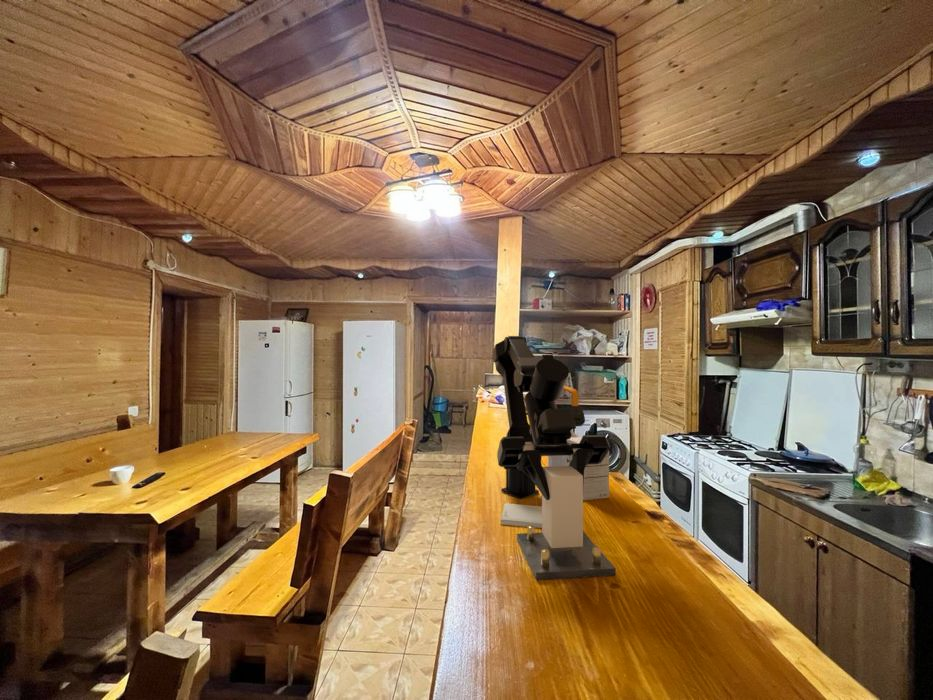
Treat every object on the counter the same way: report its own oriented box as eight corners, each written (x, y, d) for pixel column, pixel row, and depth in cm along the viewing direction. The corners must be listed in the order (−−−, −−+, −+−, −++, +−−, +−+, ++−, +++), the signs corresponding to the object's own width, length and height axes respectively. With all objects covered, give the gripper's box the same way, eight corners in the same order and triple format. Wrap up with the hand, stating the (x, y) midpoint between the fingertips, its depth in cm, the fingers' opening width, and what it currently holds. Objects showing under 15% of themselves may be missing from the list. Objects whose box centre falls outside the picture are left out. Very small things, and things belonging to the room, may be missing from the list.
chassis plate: (516, 539, 66) (516, 522, 66) (582, 536, 67) (582, 519, 67) (535, 579, 54) (535, 558, 54) (615, 575, 55) (615, 554, 55)
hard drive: (500, 518, 72) (567, 524, 70) (504, 502, 80) (564, 506, 78) (500, 527, 72) (567, 533, 70) (504, 510, 80) (564, 514, 78)
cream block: (542, 532, 63) (542, 466, 63) (570, 531, 64) (570, 466, 64) (551, 548, 58) (551, 476, 58) (582, 546, 59) (582, 475, 59)
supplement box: (564, 489, 91) (564, 437, 91) (591, 487, 93) (591, 435, 93) (581, 501, 84) (581, 444, 84) (610, 498, 86) (610, 442, 86)
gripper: (500, 389, 64) (515, 475, 53) (605, 389, 66) (640, 471, 55) (492, 427, 72) (503, 508, 61) (586, 425, 74) (614, 504, 63)
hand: (564, 498), depth 60 cm, fingers closed on cream block, 5 cm apart
